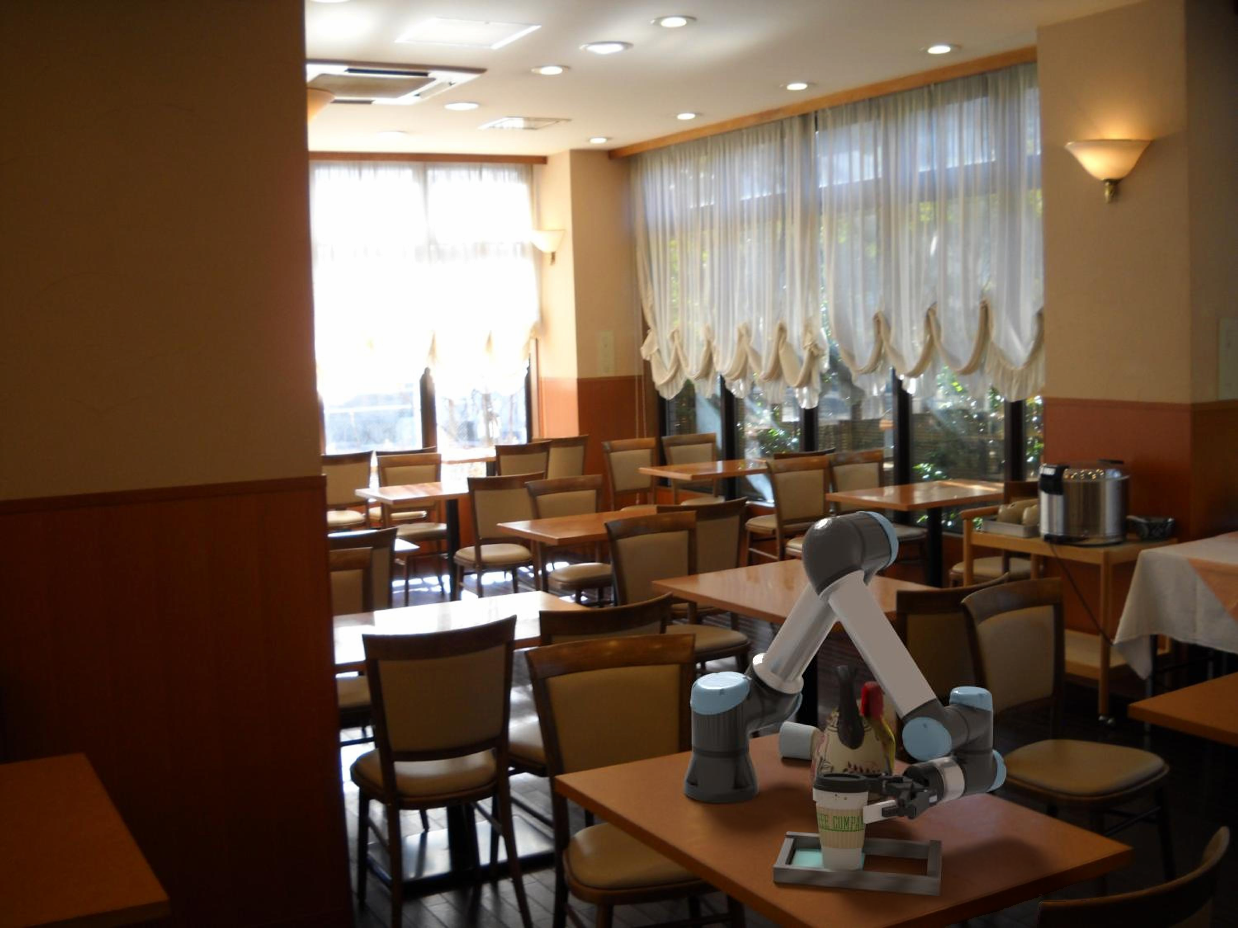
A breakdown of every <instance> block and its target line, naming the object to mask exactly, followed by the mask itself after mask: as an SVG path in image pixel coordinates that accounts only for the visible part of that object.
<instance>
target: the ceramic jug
mask: <svg viewBox="0 0 1238 928" xmlns="http://www.w3.org/2000/svg"><path fill="white" fill-rule="evenodd" d="M834 675H835V677H836V680H837V681H838V694H839V700H838V706H837V710H836V711H835V713H834V715H833V717H832V718H831V720H830V721H829V722H828V724H827V725H826V727H825V729H824V731H823V733H821V734H822V736H821V738H820V739H819V741H818V743H817V746H816V748H815V752H814V754H813V757H812V760H811V766H810V772H809V773H810V781H811V786H812V787H813V785H814V784H813V783H814V782H815V781H816V777H817V775H818V774H821V773H867V772H880V771H888V772H889V776H893V775H892V768H891V764H890V760H889V757H888V754H887V752H886V749H885V747H884V745H883V743H882V742H881V740H880V738H879V737H878V735H877V734H876V732H875V731H874V729H873V728H872V727H871V726H870V724H869V723H868V721H867V720H866V719H865V717H864V716H863V715H862V714H861V712H860V708H859V706H858V704H857V703H858V702H857V699H856V697H857V696H856V687H855V681H856V680H857V679H858V677H859V676H860V669H859V667H857V666H850V665H846V664H841V665H839V666H836V668H835V669H834ZM883 791H884V792H886V791H885V787H883ZM888 799H889V797H886V796H879V795H878V794H877V793H868V799H867V806H868V805H872V804H877V803H881V802H885V801H888Z"/></svg>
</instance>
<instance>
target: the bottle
mask: <svg viewBox="0 0 1238 928" xmlns="http://www.w3.org/2000/svg"><path fill="white" fill-rule="evenodd" d="M860 701H861V702H860V708H859V711H860V712H861V714H862V715H863V716H864V717H865V719H866V720H867V721H868V723H869V724H870V726H871V727H872V728H873V729H874V731H875V732H876V734H877V735H878V737H879V738H880V740H881V742H882V743H883V745H884V747H885V749H886V752H887V754H888V757H889V760H890V764H891V768H892V776H893V775H894V772H895V762H896V760H895V759H896V758H895V755H896V740H895V737H894V734H893V732H892V731H891V729H890V727H889V726H888V724H887V723H886V721H885V711H884V708H885V707H884V706H885V704H884V691H883V689H882V688H881V686H880V685H879V683H878V681H871V680H869V681H866V682H865V683H864V684H863V686H862V689H861V699H860Z"/></svg>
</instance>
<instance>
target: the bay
mask: <svg viewBox="0 0 1238 928" xmlns="http://www.w3.org/2000/svg"><path fill="white" fill-rule="evenodd" d="M942 847H943V843H942V840H940V839H939V840H937V839H929V841H918V840H905V839H895V838H894V839H892V838H880V837H865V836H864V843H863V847H862V852H861V861H860V868H859V869H856V870H846V869H834V868H826V867H824V866H823V860H822V850H821V844H820V838H819V833H811V832H798V831H786V833H785V839H784V841H783V844H782V846H781V849H780V851H779V854H778V857H777V859H776V862H775V863H774V865H773V867H772V872H773V875H772V876H773V879H772V880H773V881H775V882H776V883H783V884H784V883H787V884H800V885H808V886H809V885H810V886H821V887H822V886H823V887H831V888H842V889H843V888H845V889H856V890H857V889H858V890H867V891H869V890H870V891H877V892H879V891H880V892H890V893H891V892H892V893H900V894H901V893H903V894H912V895H913V894H914V895H915V894H916V895H925V896H926V895H927V896H928V895H929V896H938V897H939V896H940V895H941V880H942V879H941V877H942V875H941V874H942V862H943V861H942V859H943V858H942V857H943V856H942V855H943V848H942ZM794 851H795V853H794ZM793 854H794V855H793ZM866 855H871V856H883V857H893V858H894V857H895V858H897V857H898V858H907V859H908V858H909V859H910V858H911V859H919V860H920V859H923V860H927V867H926V868H927V870H926V875H917V874H906V873H905V874H904V873H896V872H895V873H893V872H880V871H868V870H863V867H864V863H865V859H866ZM790 862H791V863H790ZM775 882H774V883H775Z"/></svg>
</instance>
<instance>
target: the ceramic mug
mask: <svg viewBox="0 0 1238 928" xmlns="http://www.w3.org/2000/svg"><path fill="white" fill-rule="evenodd" d="M822 734H823V733H822V732H821V730H820V729H819V728H817V727H815V726H812V725H808V724H807V725H806V724H803V723H796V722H792V721H789V720H788V721H787V720H785V721H784V722H783V723H782V725H781V726H780V729H779V734H778V742H777V744H778V745H777V749H778V752H779V755H780V757H785V758H793V759H802V760H808V761H809V760H811V761H812V757H813V754H814V752H815V748H816V746H817V743H818V741H819V739H820V738H821V736H822Z"/></svg>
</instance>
